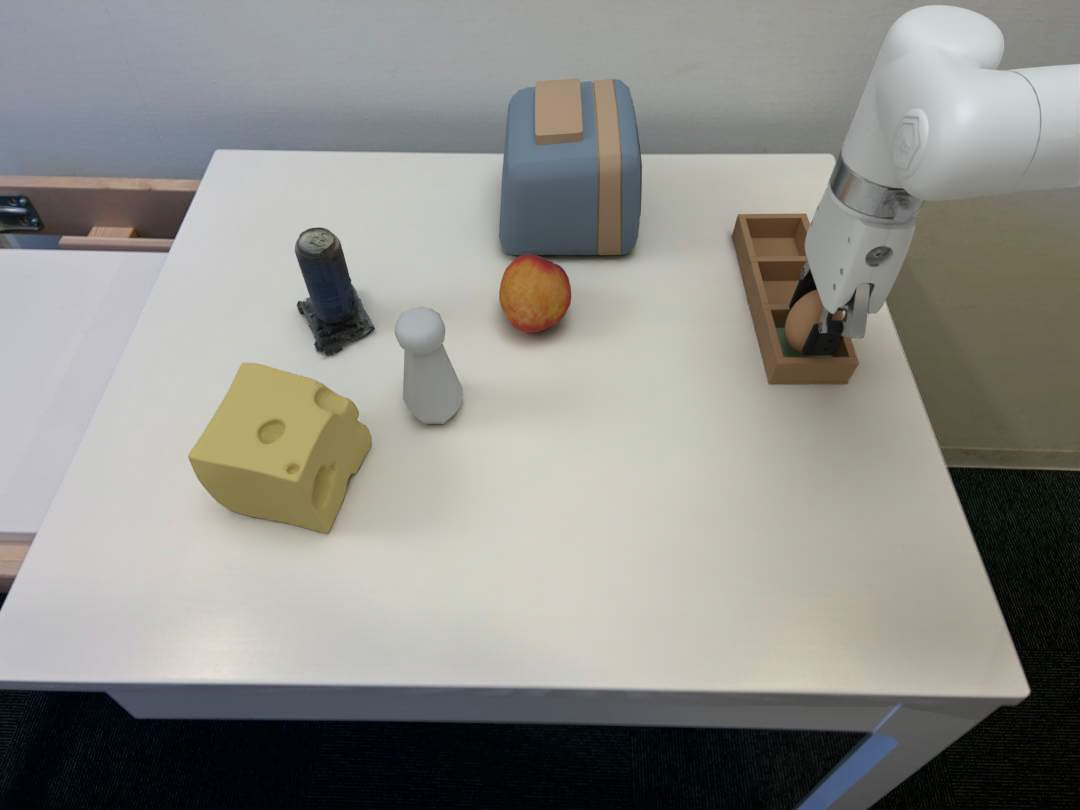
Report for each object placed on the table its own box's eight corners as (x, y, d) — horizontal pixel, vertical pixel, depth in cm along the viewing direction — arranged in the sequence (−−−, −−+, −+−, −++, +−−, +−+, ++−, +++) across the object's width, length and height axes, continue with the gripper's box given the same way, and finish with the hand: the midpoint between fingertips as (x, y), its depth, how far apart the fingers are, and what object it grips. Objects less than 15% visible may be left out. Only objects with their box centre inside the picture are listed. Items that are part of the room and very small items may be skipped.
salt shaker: (398, 425, 69) (372, 338, 58) (418, 380, 72) (397, 290, 61) (455, 437, 68) (439, 351, 57) (472, 391, 71) (460, 302, 61)
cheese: (375, 443, 68) (352, 380, 59) (328, 543, 62) (296, 488, 53) (277, 421, 69) (241, 357, 61) (222, 516, 63) (175, 459, 55)
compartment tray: (847, 383, 72) (859, 363, 69) (768, 384, 72) (777, 363, 69) (797, 235, 85) (806, 213, 82) (731, 236, 85) (737, 213, 82)
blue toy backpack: (637, 263, 82) (655, 143, 69) (499, 263, 82) (491, 143, 69) (627, 176, 92) (641, 57, 79) (503, 176, 92) (497, 57, 79)
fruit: (585, 312, 78) (589, 258, 71) (541, 357, 74) (541, 305, 67) (529, 282, 80) (528, 228, 74) (484, 324, 77) (479, 271, 70)
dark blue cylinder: (387, 328, 76) (365, 243, 67) (324, 362, 74) (291, 279, 64) (346, 282, 80) (319, 196, 71) (285, 312, 78) (248, 227, 68)
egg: (816, 326, 75) (841, 272, 68) (835, 363, 72) (864, 310, 65) (770, 332, 74) (791, 278, 68) (787, 369, 71) (811, 316, 65)
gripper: (966, 251, 51) (871, 398, 66) (895, 118, 61) (826, 271, 76) (864, 252, 51) (792, 398, 66) (809, 119, 61) (757, 272, 76)
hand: (811, 329), depth 71 cm, fingers closed on egg, 5 cm apart
